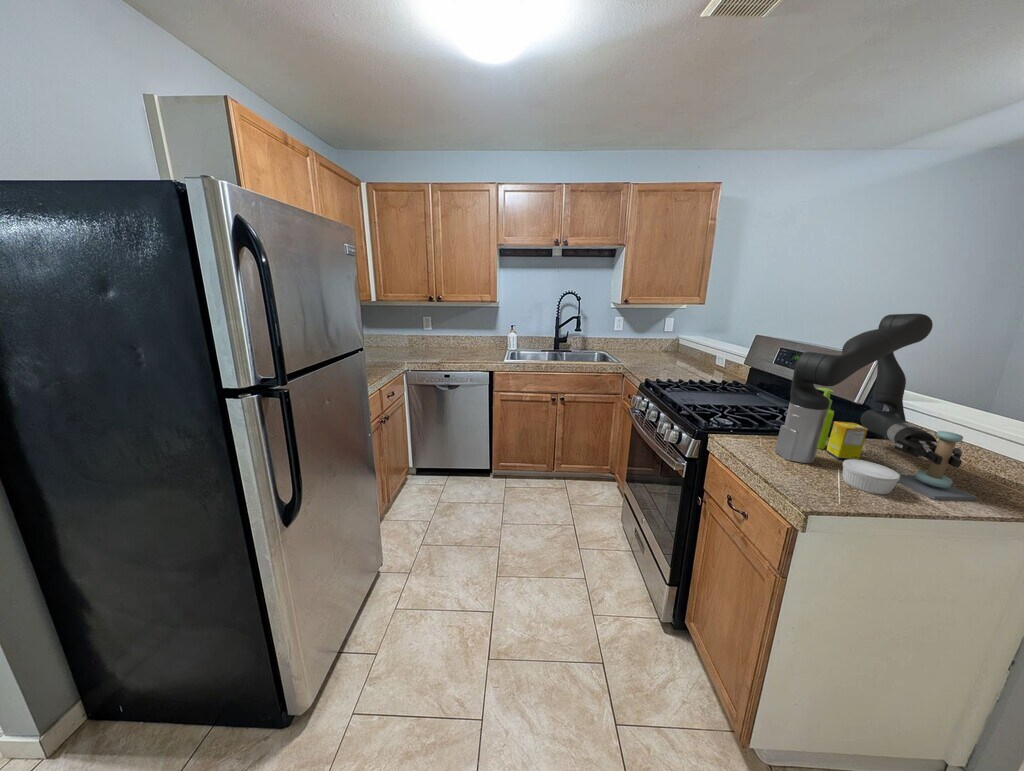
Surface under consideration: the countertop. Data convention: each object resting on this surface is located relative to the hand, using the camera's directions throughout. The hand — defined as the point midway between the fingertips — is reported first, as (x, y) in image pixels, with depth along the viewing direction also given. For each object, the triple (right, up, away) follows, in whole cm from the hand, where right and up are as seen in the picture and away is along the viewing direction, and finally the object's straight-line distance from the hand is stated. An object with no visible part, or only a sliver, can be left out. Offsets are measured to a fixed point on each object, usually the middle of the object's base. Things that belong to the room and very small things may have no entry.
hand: (948, 462), depth 93 cm
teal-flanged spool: (+1, -6, +4) cm, 8 cm away
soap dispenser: (-9, -1, +32) cm, 33 cm away
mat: (+1, -8, +5) cm, 9 cm away
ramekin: (-16, -8, +5) cm, 19 cm away
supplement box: (-7, -3, +23) cm, 24 cm away
